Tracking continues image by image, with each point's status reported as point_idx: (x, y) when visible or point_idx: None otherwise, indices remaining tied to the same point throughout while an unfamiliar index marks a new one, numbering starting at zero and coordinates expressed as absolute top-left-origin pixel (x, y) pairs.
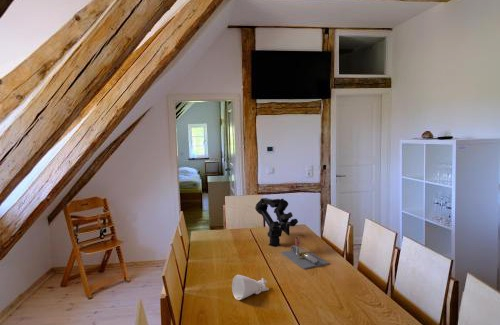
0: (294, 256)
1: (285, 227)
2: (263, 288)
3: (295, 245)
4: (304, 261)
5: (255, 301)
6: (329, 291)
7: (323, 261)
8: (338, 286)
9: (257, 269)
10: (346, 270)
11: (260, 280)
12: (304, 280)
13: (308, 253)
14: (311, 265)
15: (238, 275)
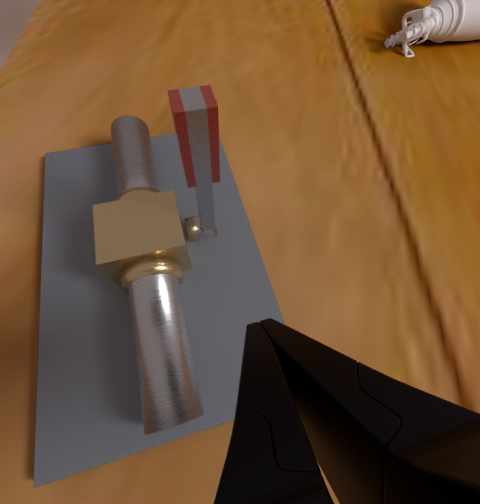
0: (218, 274)
1: (420, 433)
2: (407, 22)
3: (219, 178)
4: (181, 190)
5: None
6: (193, 14)
7: (68, 170)
8: (147, 26)
9: (452, 172)
10: (23, 97)
11: (430, 22)
12: (248, 67)
13: (125, 192)
14: (166, 141)
15: None
